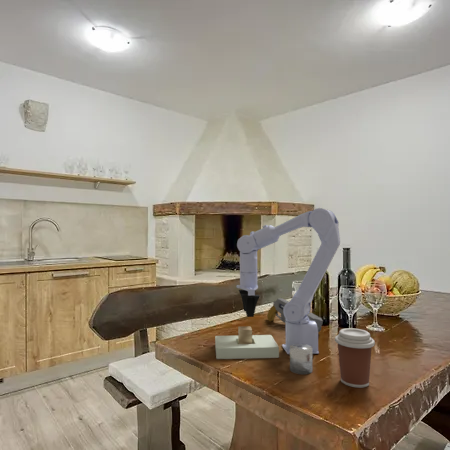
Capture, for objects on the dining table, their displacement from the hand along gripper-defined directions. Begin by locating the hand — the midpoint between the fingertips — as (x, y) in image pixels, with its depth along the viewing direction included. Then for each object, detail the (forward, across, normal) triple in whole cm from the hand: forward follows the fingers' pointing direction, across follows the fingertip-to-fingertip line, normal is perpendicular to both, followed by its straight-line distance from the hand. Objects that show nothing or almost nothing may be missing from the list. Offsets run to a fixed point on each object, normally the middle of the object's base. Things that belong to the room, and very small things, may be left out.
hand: (248, 313), depth 115 cm
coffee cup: (+10, +31, +22) cm, 39 cm away
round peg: (+10, +23, +11) cm, 27 cm away
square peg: (+10, +8, -2) cm, 13 cm away
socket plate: (+9, +8, -2) cm, 13 cm away
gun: (+10, -18, +19) cm, 28 cm away
